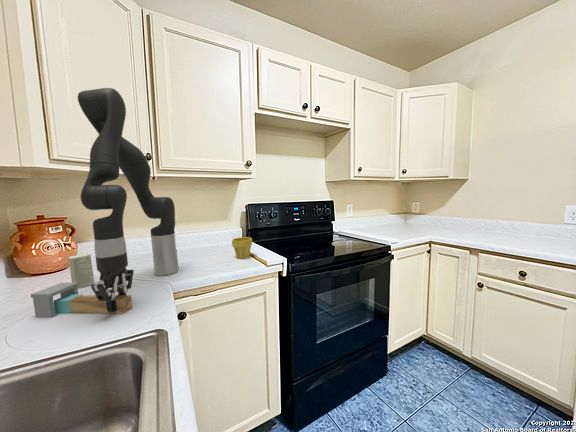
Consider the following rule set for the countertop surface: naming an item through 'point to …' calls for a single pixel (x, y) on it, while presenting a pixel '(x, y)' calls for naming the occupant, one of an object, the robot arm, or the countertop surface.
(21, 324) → the countertop surface
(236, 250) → the plant pot
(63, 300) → the block
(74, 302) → the rod
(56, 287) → the tunnel
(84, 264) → the skincare box
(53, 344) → the countertop surface
